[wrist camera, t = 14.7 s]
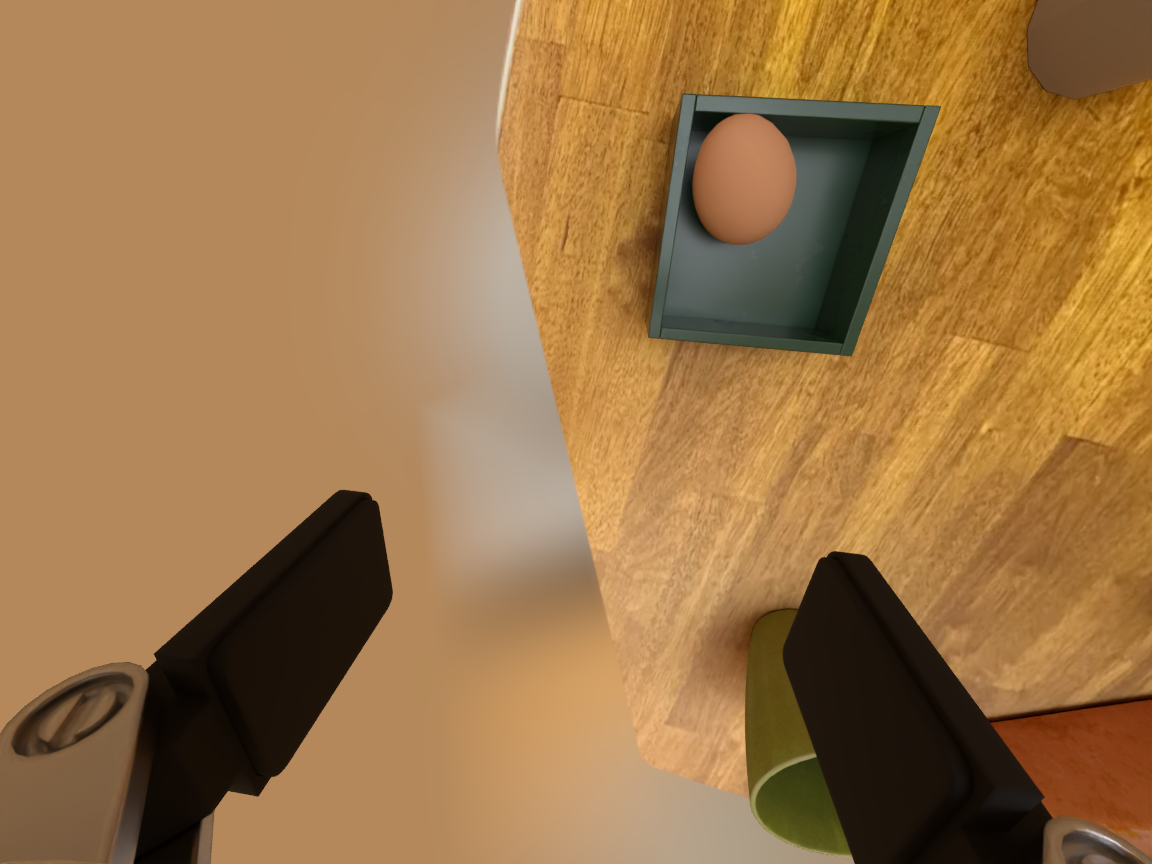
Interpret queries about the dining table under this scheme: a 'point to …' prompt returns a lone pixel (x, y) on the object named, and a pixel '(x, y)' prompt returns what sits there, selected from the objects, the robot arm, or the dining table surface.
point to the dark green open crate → (788, 227)
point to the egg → (743, 179)
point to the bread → (1091, 765)
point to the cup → (1090, 45)
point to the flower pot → (784, 750)
